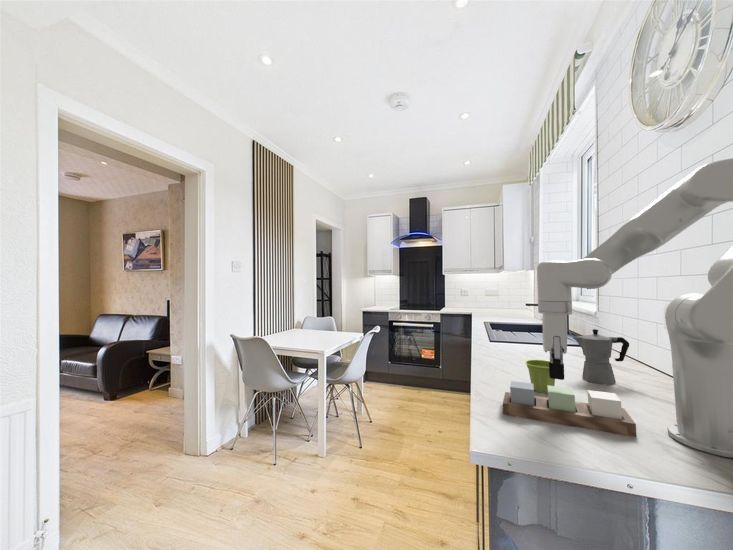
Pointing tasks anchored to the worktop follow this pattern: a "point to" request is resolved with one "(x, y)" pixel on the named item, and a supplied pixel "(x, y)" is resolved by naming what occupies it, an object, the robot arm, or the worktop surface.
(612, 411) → the white button
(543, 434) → the worktop surface
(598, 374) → the coffeepot
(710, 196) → the robot arm
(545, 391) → the plant pot
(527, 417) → the button housing
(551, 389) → the sage button
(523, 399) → the grey button
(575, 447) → the worktop surface
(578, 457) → the worktop surface
